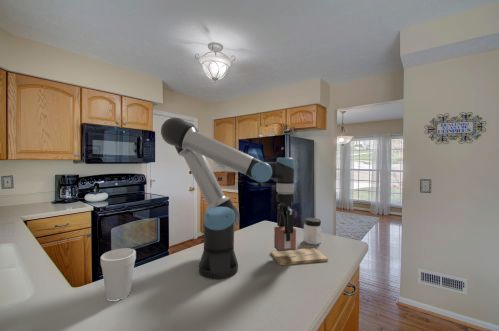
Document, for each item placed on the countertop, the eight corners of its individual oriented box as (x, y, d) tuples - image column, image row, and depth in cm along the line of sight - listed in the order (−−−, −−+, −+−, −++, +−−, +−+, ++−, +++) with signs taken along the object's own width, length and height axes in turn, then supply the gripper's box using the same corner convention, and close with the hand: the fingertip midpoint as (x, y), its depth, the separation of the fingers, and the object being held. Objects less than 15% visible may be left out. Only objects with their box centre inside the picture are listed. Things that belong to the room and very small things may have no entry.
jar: (314, 246, 116) (315, 222, 116) (301, 241, 122) (301, 219, 121) (323, 241, 122) (324, 219, 122) (310, 238, 128) (310, 216, 128)
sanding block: (278, 251, 97) (278, 230, 97) (274, 247, 102) (274, 227, 101) (295, 249, 99) (295, 229, 98) (291, 245, 103) (291, 226, 103)
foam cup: (127, 283, 77) (128, 246, 77) (140, 294, 72) (141, 253, 71) (95, 296, 70) (95, 254, 70) (106, 309, 64) (107, 263, 64)
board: (279, 265, 93) (279, 262, 93) (270, 253, 105) (270, 251, 105) (327, 261, 98) (328, 258, 98) (314, 250, 110) (314, 247, 110)
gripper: (302, 195, 92) (301, 253, 92) (285, 190, 109) (284, 238, 110) (284, 196, 90) (284, 254, 90) (270, 190, 107) (270, 239, 108)
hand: (284, 245), depth 100 cm, fingers closed on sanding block, 5 cm apart
